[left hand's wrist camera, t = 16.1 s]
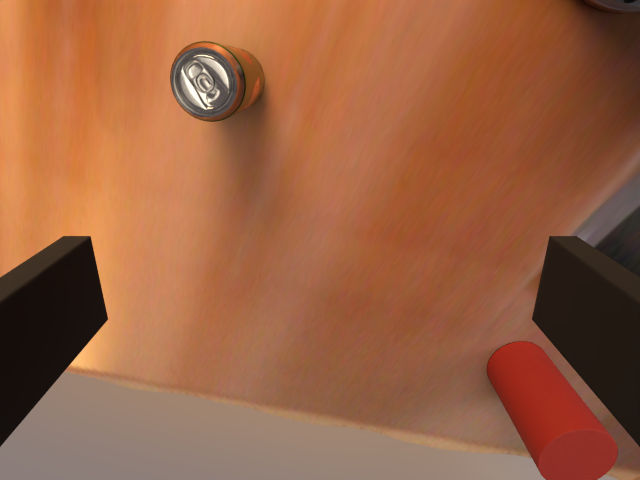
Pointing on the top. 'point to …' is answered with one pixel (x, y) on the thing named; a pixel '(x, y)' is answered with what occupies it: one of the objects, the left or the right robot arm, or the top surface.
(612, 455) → the canister
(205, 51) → the soda can
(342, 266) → the top surface
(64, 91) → the top surface
